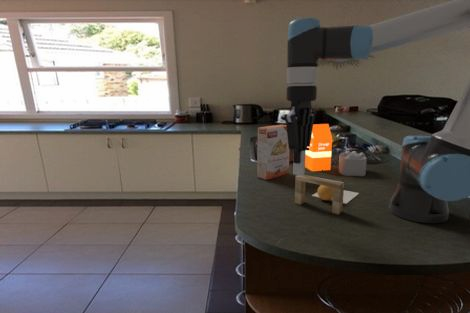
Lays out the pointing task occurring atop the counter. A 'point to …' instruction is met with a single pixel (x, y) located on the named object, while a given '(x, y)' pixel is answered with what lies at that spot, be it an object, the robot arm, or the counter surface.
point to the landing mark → (346, 196)
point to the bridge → (337, 185)
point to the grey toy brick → (352, 163)
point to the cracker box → (272, 152)
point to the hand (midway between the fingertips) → (298, 174)
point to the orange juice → (319, 149)
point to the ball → (325, 192)
